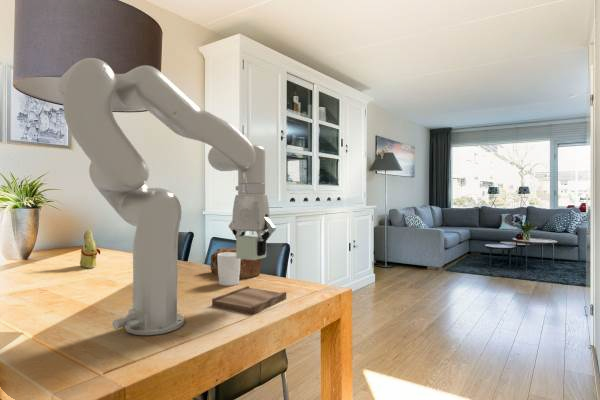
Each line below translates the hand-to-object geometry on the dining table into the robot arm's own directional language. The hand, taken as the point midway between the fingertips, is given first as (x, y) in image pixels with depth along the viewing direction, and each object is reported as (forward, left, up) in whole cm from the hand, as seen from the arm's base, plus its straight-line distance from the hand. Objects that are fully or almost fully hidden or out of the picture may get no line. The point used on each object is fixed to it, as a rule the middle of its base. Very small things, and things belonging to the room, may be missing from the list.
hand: (251, 253), depth 104 cm
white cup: (+14, +19, -14) cm, 27 cm away
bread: (+27, +26, -14) cm, 40 cm away
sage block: (0, 0, -1) cm, 1 cm away
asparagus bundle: (+7, +84, -14) cm, 85 cm away
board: (0, 0, -14) cm, 14 cm away
